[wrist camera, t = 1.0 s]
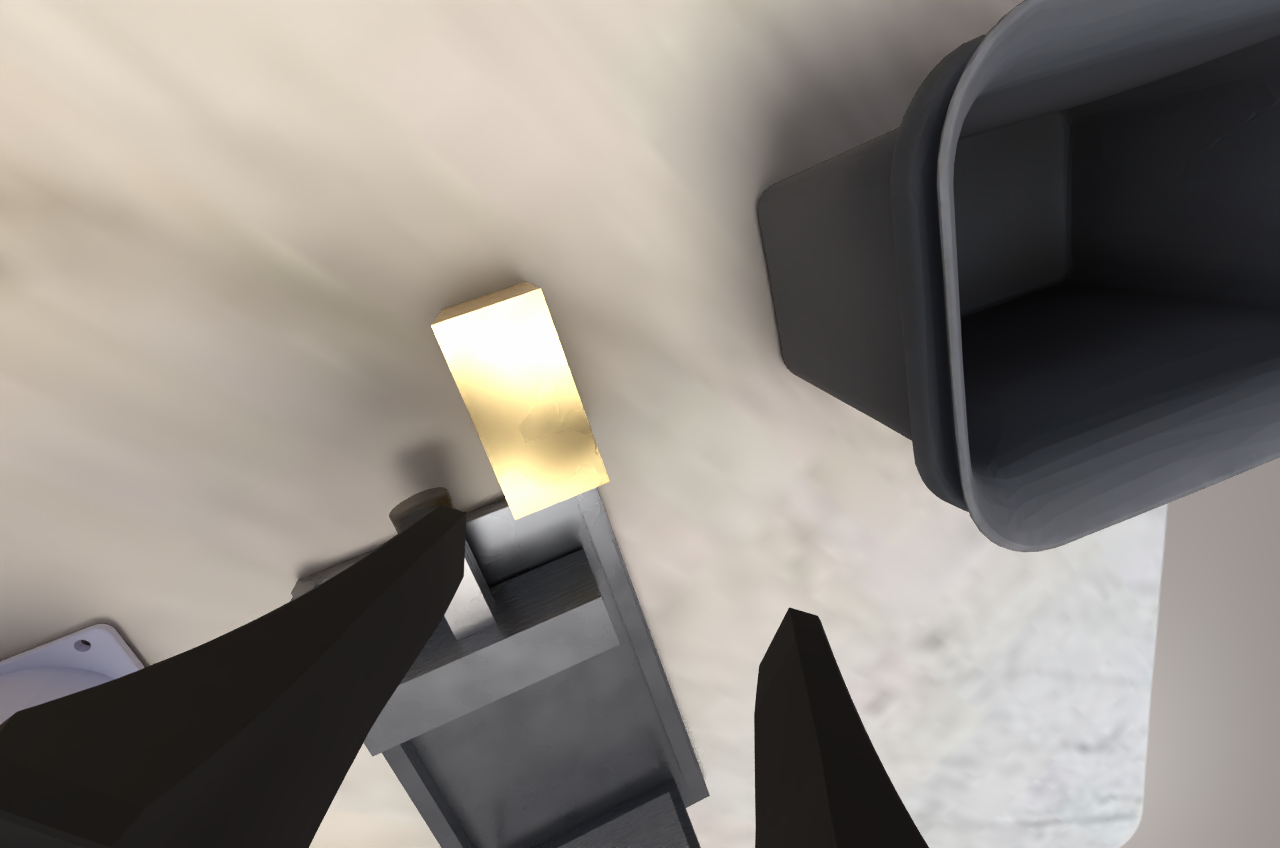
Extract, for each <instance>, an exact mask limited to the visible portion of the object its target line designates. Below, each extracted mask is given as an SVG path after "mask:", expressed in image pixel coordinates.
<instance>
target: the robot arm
mask: <svg viewBox="0 0 1280 848" xmlns="http://www.w3.org/2000/svg"><path fill="white" fill-rule="evenodd" d="M465 537H466V512H463V511H459V510H456V509H453V508H449V507H446V506H442V505H439V506H437V507H435V508H434V509H433V510H431V511H430V512H428V513H427V514H426V515H424V516H423V517H421V518H420V519H419V520H417V521H416V522H414V523H413V524H412V525H410V526H409V527H407V528H406V529H405V530H403V531H402V532H400V533H399V534H397V535H396V536H395V537H393V538H392V539H390V540H389V541H387V542H386V543H384V544H383V545H382V546H380V547H378V548H377V549H375V550H374V551H372V552H371V553H369V554H368V555H366V556H365V557H363V558H362V559H360V560H359V561H357V562H356V563H354V564H353V565H351V566H350V567H348V568H346V569H345V570H343V571H342V572H340V573H338V574H337V575H335V576H333V577H332V578H330V579H328V580H327V581H325V582H323V583H322V584H320V585H318V586H317V587H315V588H313V589H312V590H310V591H308V592H306V593H305V594H303V595H301V596H299V597H298V598H296V599H294V600H292V601H290V602H289V603H287V604H285V605H283V606H281V607H279V608H277V609H275V610H273V611H271V612H270V613H268V614H266V615H264V616H262V617H260V618H258V619H256V620H254V621H252V622H250V623H248V624H246V625H243V626H241V627H239V628H237V629H235V630H233V631H231V632H229V633H226V634H224V635H222V636H220V637H218V638H216V639H214V640H211V641H209V642H207V643H205V644H202V645H200V646H198V647H195V648H193V649H191V650H188V651H186V652H184V653H181V654H179V655H176V656H174V657H171V658H168V659H166V660H163V661H161V662H158V663H156V664H153V665H151V666H148V667H146V668H145V667H144V666H143V664H142V663H141V662H140V661H139V659H138V658H137V657H136V655H135V654H134V653H133V652H132V650H131V649H130V648H129V646H128V645H127V644H126V643H125V641H124V640H123V639H122V637H121V636H120V635H119V633H118V632H117V631H116V630H115V629H114V628H113V627H112V626H110V625H107V624H96V625H93V626H90V627H88V628H85V629H82V630H80V631H77V632H75V633H72V634H69V635H67V636H64V637H62V638H59V639H57V640H54V641H51V642H49V643H46V644H44V645H41V646H38V647H36V648H33V649H31V650H28V651H25V652H23V653H20V654H18V655H15V656H13V657H10V658H7V659H5V660H2V661H0V848H309V846H310V844H311V842H312V840H313V838H314V836H315V834H316V832H317V830H318V828H319V826H320V824H321V822H322V820H323V818H324V816H325V814H326V812H327V810H328V808H329V807H330V805H331V803H332V801H333V799H334V797H335V795H336V793H337V791H338V789H339V787H340V785H341V783H342V781H343V780H344V778H345V776H346V774H347V772H348V770H349V768H350V766H351V765H352V763H353V761H354V759H355V757H356V755H357V754H358V752H359V750H360V748H361V746H362V744H363V742H364V741H365V739H366V737H367V735H368V733H369V731H370V730H371V728H372V726H373V725H374V723H375V721H376V720H377V718H378V716H379V715H380V713H381V712H382V710H383V708H384V707H385V705H386V704H387V702H388V701H389V699H390V698H391V696H392V695H393V693H394V692H395V690H396V689H397V687H398V686H399V684H400V683H401V681H402V680H403V678H404V677H405V675H406V674H407V672H408V671H409V669H410V668H411V666H412V665H413V663H414V662H415V660H416V659H417V657H418V655H419V654H420V652H421V651H422V649H423V648H424V646H425V645H426V643H427V642H428V640H429V639H430V637H431V636H432V634H433V633H434V631H435V630H436V628H437V626H438V625H439V623H440V622H441V620H442V619H443V617H444V615H445V613H446V611H447V609H448V607H449V605H450V603H451V601H452V599H453V597H454V595H455V593H456V591H457V589H458V587H459V585H460V583H461V581H462V579H463V577H464V561H465ZM81 640H86V641H88V642H89V643H90V644H91V645H84V644H83V643H82V642H81ZM754 727H755V808H756V840H755V848H929V847H928V845H927V844H926V842H925V840H924V839H923V837H922V835H921V834H920V832H919V830H918V829H917V827H916V825H915V823H914V822H913V820H912V818H911V816H910V815H909V813H908V811H907V810H906V808H905V806H904V804H903V803H902V801H901V799H900V797H899V795H898V793H897V792H896V790H895V788H894V786H893V784H892V782H891V780H890V778H889V776H888V775H887V773H886V771H885V769H884V767H883V765H882V763H881V761H880V759H879V757H878V755H877V753H876V751H875V749H874V747H873V745H872V743H871V740H870V738H869V736H868V734H867V732H866V730H865V728H864V726H863V723H862V721H861V719H860V717H859V714H858V712H857V710H856V708H855V705H854V703H853V701H852V699H851V696H850V694H849V692H848V689H847V687H846V685H845V682H844V680H843V677H842V675H841V672H840V670H839V667H838V665H837V663H836V660H835V657H834V655H833V652H832V650H831V647H830V645H829V642H828V639H827V637H826V634H825V631H824V629H823V626H822V623H821V621H820V619H819V617H818V616H816V615H813V614H810V613H806V612H803V611H799V610H796V609H793V608H789V609H788V611H787V613H786V615H785V617H784V619H783V621H782V623H781V625H780V627H779V628H778V630H777V632H776V634H775V636H774V638H773V640H772V642H771V644H770V646H769V648H768V650H767V652H766V654H765V656H764V658H763V660H762V661H761V663H760V665H759V674H758V683H757V692H756V703H755V714H754Z"/></svg>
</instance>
